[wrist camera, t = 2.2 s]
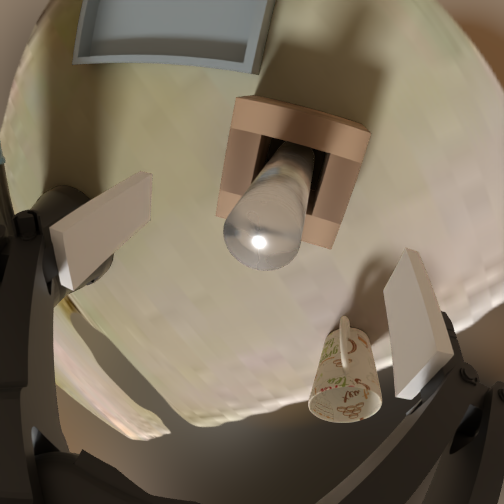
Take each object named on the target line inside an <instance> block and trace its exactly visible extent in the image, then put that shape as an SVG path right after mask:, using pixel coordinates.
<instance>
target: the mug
mask: <svg viewBox="0 0 504 504" xmlns="http://www.w3.org/2000/svg"><path fill="white" fill-rule="evenodd" d="M381 404H382V395H381V390H380V385H379V381H378V376H377V371H376V367H375V362H374V358H373V353H372V349H371V345H370V341H369V338H368V336H367V335H366V334H365V333H364V332H363V331H361V330H359V329H356V328H350V322H349V319H348V318H347V317H346V316H342V317H341V319H340V329H337V330H335V331H333V332H332V333H330V334H329V335H328V336H327V338H326V340H325V343H324V347H323V351H322V354H321V358H320V362H319V366H318V369H317V373H316V377H315V380H314V384H313V387H312V391H311V394H310V398H309V403H308V405H309V409H310V411H311V412H312V413H313V414H314V415H315V416H317V417H319V418H321V419H324V420H326V421H331V422H338V423H341V422H342V423H345V422H346V423H347V422H355V421H360V420H363V419H365V418H368V417H370V416H372V415H373V414H375V413H376V412H377V411H378V410H379V409H380V407H381Z"/></svg>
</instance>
